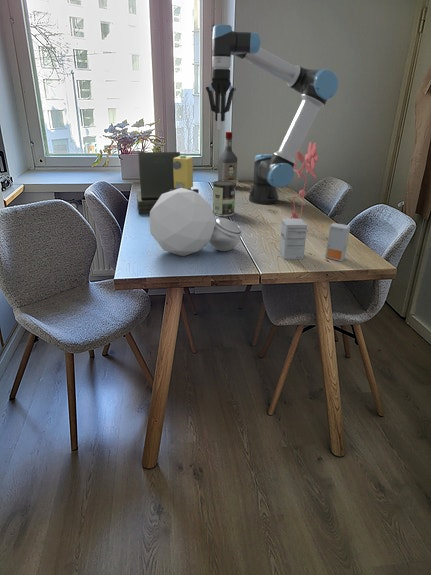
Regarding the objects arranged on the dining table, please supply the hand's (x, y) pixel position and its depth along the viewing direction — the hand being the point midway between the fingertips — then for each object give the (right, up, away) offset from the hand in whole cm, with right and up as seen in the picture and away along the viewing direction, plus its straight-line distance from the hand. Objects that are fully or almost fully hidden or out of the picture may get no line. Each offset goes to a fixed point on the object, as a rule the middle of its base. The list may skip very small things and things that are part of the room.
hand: (219, 129), depth 188 cm
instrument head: (-15, -28, -7) cm, 33 cm away
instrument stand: (-16, -41, -1) cm, 44 cm away
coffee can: (+2, -35, +12) cm, 37 cm away
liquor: (+5, -11, +60) cm, 62 cm away
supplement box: (+25, -58, -34) cm, 71 cm away
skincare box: (+41, -59, -35) cm, 80 cm away
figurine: (+36, -44, -5) cm, 57 cm away
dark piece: (-27, -31, +19) cm, 46 cm away
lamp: (-9, -56, -32) cm, 66 cm away
